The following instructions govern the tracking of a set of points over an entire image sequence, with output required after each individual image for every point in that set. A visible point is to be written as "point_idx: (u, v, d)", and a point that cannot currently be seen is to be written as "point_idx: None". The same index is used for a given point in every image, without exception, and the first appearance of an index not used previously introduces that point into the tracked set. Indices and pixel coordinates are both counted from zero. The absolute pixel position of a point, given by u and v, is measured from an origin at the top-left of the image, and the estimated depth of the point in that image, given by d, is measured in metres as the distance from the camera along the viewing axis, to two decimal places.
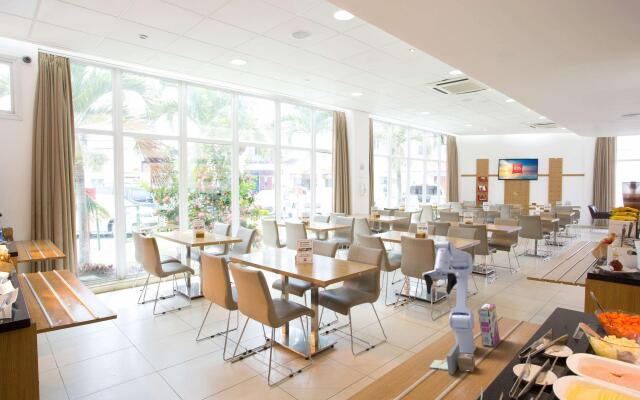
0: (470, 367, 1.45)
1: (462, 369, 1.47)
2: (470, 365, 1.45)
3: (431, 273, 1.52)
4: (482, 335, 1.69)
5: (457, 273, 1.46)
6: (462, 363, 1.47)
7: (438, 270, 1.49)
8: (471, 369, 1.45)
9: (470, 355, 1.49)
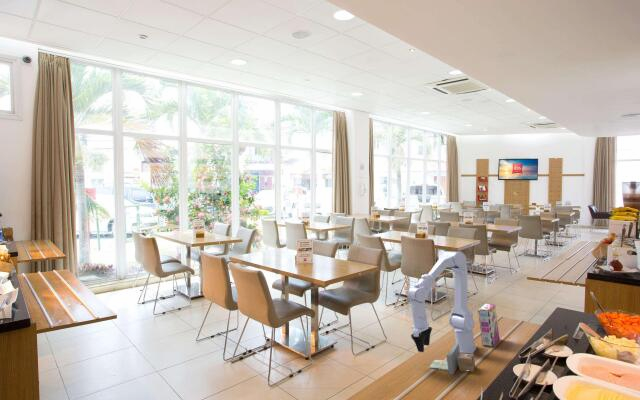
0: (470, 367, 1.45)
1: (462, 369, 1.47)
2: (470, 365, 1.45)
3: None
4: (482, 335, 1.69)
5: None
6: (462, 363, 1.47)
7: None
8: (471, 369, 1.45)
9: (470, 355, 1.49)
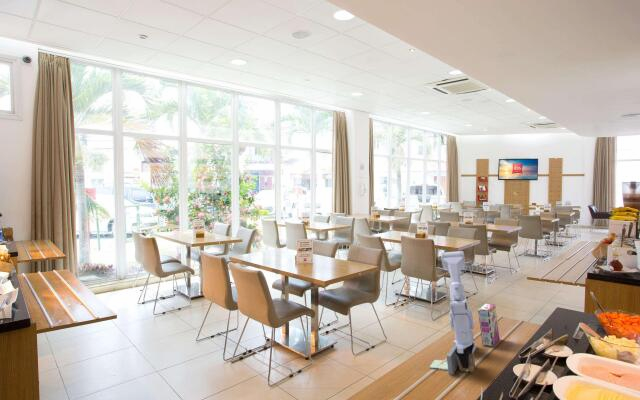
0: (470, 367, 1.45)
1: (462, 369, 1.47)
2: (470, 365, 1.45)
3: None
4: (482, 335, 1.69)
5: None
6: None
7: None
8: (471, 369, 1.45)
9: (470, 355, 1.49)
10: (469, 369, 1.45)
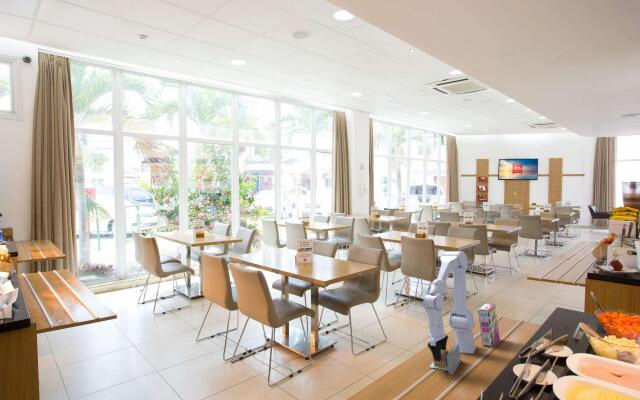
0: (444, 362, 1.51)
1: (436, 364, 1.52)
2: (444, 360, 1.51)
3: None
4: (482, 335, 1.69)
5: None
6: None
7: None
8: (445, 364, 1.50)
9: (444, 351, 1.54)
10: (443, 364, 1.51)
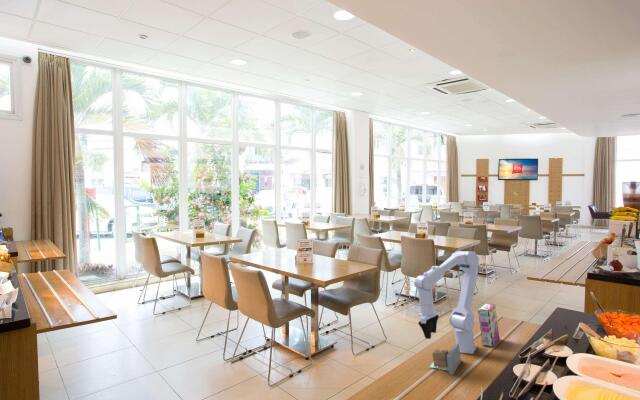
0: (444, 362, 1.51)
1: (436, 364, 1.52)
2: (444, 360, 1.51)
3: None
4: (482, 335, 1.69)
5: None
6: (436, 359, 1.52)
7: None
8: (445, 364, 1.50)
9: (444, 351, 1.54)
10: (443, 364, 1.51)
